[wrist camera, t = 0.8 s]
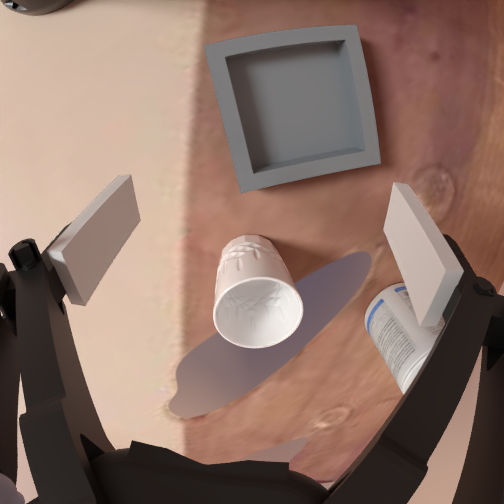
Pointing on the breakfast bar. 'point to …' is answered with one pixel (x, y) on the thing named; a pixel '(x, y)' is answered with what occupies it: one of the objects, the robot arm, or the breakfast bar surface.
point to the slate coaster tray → (294, 104)
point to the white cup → (255, 294)
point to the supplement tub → (400, 333)
